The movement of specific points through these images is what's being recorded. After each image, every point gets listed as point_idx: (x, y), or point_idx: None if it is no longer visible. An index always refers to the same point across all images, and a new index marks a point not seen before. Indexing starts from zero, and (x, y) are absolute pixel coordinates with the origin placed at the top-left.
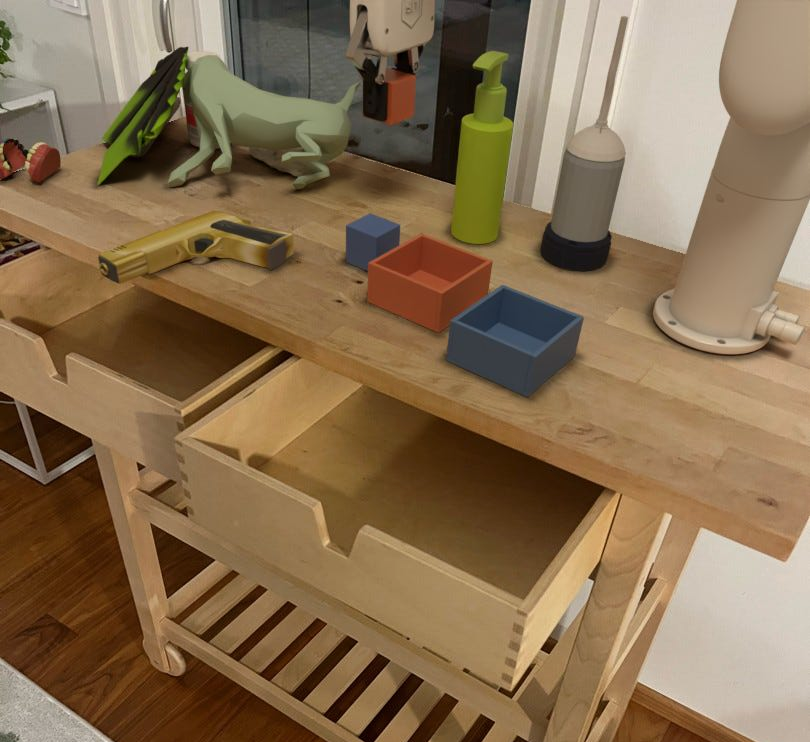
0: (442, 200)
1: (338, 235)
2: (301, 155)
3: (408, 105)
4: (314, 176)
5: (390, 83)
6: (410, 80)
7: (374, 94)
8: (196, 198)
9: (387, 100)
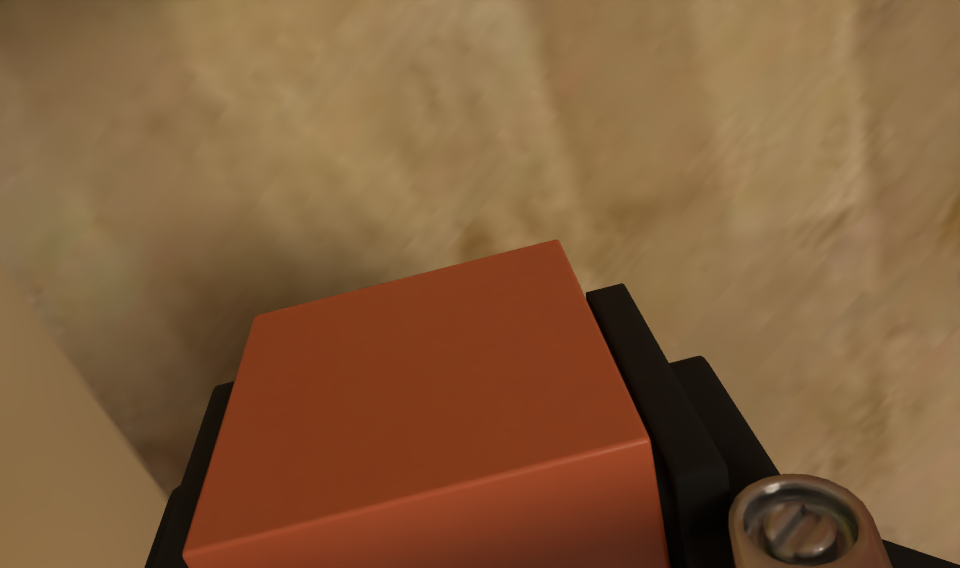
0: (96, 117)
1: (746, 77)
2: None
3: (334, 349)
4: None
5: (652, 467)
6: (294, 503)
7: (759, 449)
8: (896, 543)
9: (626, 372)
